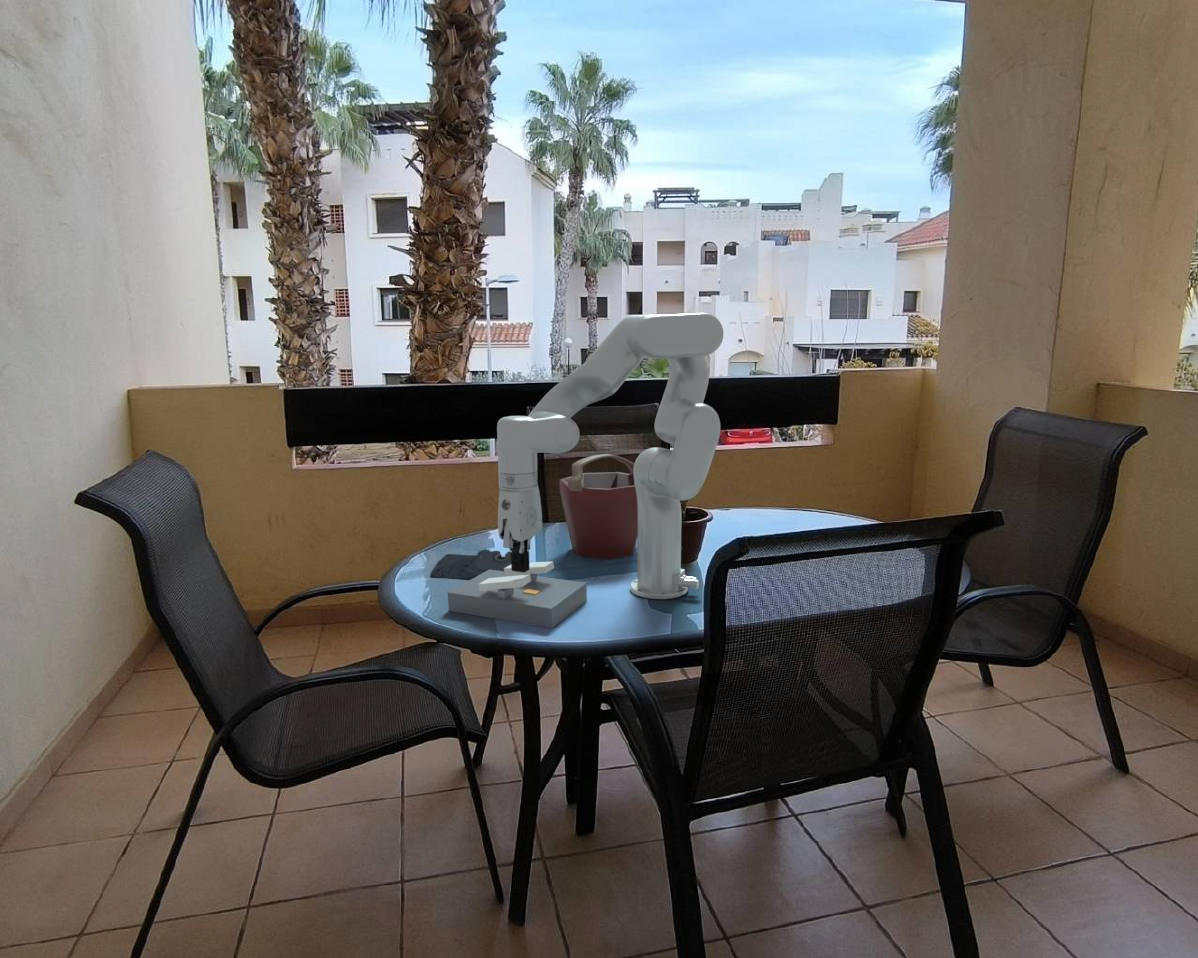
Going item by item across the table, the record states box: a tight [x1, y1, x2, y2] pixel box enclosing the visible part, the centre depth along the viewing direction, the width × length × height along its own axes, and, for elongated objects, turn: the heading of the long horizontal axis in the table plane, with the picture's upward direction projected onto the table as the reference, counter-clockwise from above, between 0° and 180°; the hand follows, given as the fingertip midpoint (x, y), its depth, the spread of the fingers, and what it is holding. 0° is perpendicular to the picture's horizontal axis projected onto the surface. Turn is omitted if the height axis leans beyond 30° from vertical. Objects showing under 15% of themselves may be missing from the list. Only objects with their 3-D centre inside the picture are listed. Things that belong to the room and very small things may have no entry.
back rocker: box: [504, 561, 555, 575], centre depth 160 cm, size 10×4×1 cm, turn 66°
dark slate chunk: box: [430, 549, 511, 581], centre depth 180 cm, size 15×22×5 cm
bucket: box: [559, 453, 637, 561], centre depth 194 cm, size 24×22×25 cm
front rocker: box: [478, 574, 531, 591], centre depth 151 cm, size 10×4×1 cm, turn 66°
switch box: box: [447, 569, 588, 629], centre depth 156 cm, size 24×16×6 cm, turn 66°
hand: (520, 570), depth 149 cm, fingers closed
